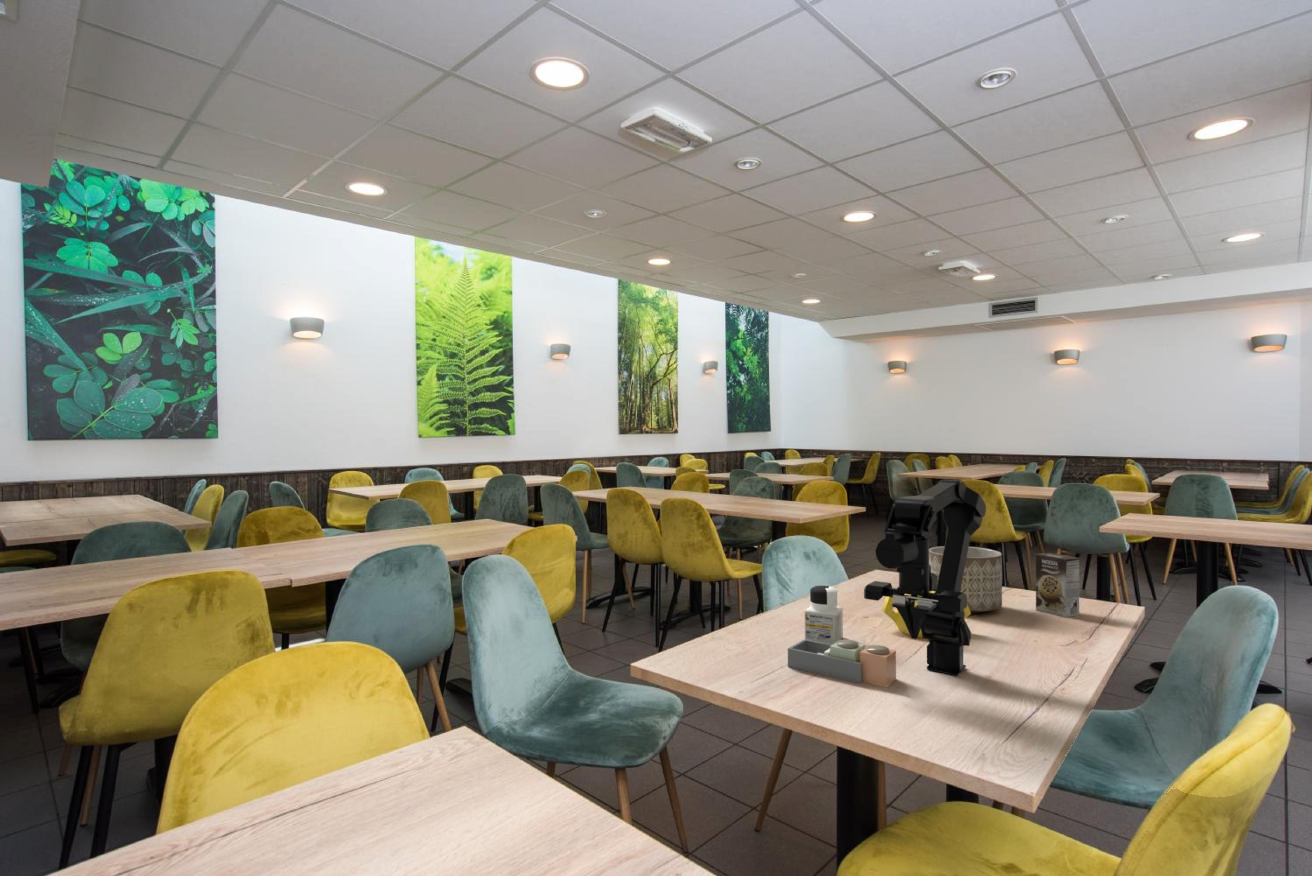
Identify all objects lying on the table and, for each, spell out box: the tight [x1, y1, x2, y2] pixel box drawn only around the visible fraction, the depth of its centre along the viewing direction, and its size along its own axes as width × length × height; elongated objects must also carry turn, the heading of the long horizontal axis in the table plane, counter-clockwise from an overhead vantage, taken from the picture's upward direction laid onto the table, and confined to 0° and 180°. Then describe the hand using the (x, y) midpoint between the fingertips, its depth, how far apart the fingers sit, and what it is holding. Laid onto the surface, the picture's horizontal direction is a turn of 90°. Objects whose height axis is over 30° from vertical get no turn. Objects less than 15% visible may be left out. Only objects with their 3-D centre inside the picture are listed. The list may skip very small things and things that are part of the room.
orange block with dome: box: [860, 644, 897, 687], centre depth 140 cm, size 6×6×7 cm
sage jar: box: [830, 639, 866, 663], centre depth 144 cm, size 6×6×7 cm
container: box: [804, 585, 844, 645], centre depth 167 cm, size 8×8×13 cm
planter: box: [929, 545, 1003, 614], centre depth 196 cm, size 19×19×16 cm
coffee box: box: [1035, 552, 1081, 618], centre depth 190 cm, size 9×6×16 cm
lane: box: [787, 638, 863, 684], centre depth 146 cm, size 16×8×4 cm, turn 52°
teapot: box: [881, 591, 972, 639], centre depth 173 cm, size 17×17×12 cm
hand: (914, 638), depth 135 cm, fingers closed
